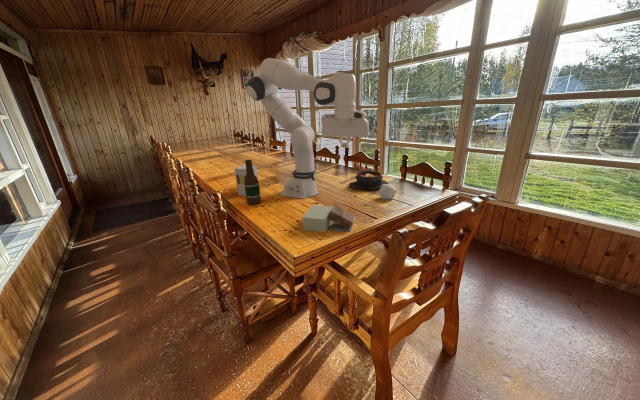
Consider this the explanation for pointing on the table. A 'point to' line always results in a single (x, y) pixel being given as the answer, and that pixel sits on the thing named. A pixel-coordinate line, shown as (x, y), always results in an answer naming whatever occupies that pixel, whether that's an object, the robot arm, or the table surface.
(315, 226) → the step
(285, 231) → the table surface
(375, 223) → the table surface
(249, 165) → the beer bottle
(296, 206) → the table surface
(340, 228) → the mat
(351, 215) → the walnut block
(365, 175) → the casserole
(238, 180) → the supplement box
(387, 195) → the die
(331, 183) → the table surface
